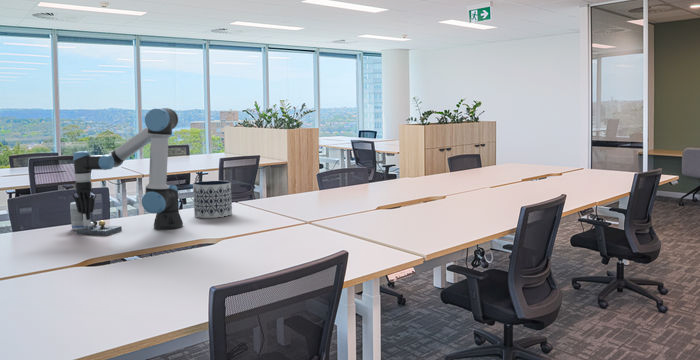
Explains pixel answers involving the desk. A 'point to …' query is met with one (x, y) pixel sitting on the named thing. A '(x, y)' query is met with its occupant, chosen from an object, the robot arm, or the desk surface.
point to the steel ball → (91, 225)
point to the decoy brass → (101, 223)
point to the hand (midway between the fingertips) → (86, 225)
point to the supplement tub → (76, 217)
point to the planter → (212, 199)
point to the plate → (99, 230)
